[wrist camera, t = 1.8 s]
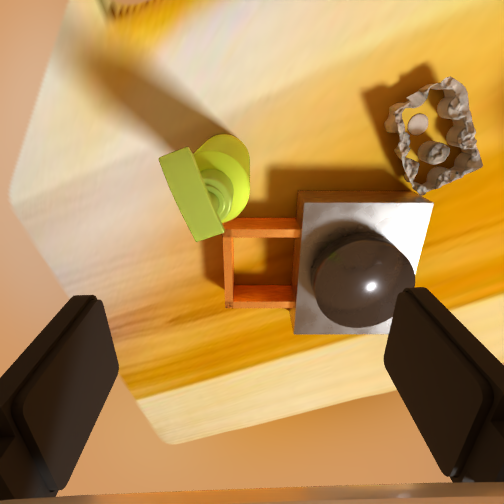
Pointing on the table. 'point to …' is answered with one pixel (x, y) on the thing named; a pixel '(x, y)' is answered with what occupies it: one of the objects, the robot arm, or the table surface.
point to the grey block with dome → (338, 259)
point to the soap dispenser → (209, 183)
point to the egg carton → (432, 151)
